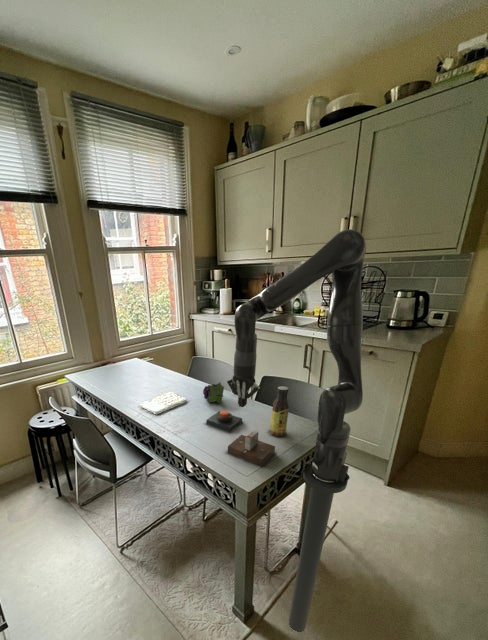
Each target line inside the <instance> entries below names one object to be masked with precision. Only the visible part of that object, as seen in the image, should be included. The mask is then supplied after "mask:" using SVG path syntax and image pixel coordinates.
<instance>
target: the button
mask: <svg viewBox="0 0 488 640" xmlns="http://www.w3.org/2000/svg"><path fill="white" fill-rule="evenodd" d="M229 413H230V412H229V411H228V410H221V411H220V416H221V417H223V418H227V417H228V416H229Z"/></svg>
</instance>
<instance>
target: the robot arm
mask: <svg viewBox="0 0 488 640" xmlns="http://www.w3.org/2000/svg"><path fill="white" fill-rule="evenodd" d="M366 252H367V242H366V239H365V236H364V235H363V234H362V233H361V232H360V231H358V230H357V229H353V228H351V229H343V230H342V231H339V232H338V233H336V234H335V235H334V236H333V237H332V238H331V239H330V240H329V241H327V243H326V244H324V245H323V246H322V247H321V248H320V249H318V251H316V252H315V253H314V254H313V255H312V256H310V257H309V258H308V259H307V260H305V261H304V262H303V263H302V264H300V265H299V266H297V267H295V268H294V269H293V270H292V271H290V272H288V273H287V274H285V275H284V276H282V277H281V278H279V279H278V280H276V281H274V282H273V283H272V284H270V285H269V286H267V287H266V288H265V289H262V291H261V292H260V293H259V294H257V295H255V296H254V297H252V298H250V299H249V300H247V301H245V302H244V303H242V304H240V305H239V306H238V307H237V308H236V309H235V313H234V331H235V349H234V356H233V375H232V378H230V379H228V380H227V381H226V383H227V385H228V386H229V388H230V390H231V392H232V393H233V396H237V405H238V407H240V408H244V407H246V406H247V404H248V399H250V398H252V396H254V395H255V394H256V393H257V392H258V391H259V390H261V389H262V387H261V385H258V384H257V383H256V379H255V376H256V370H257V369H256V367H257V345H258V335H257V333H256V323H257V321H259V320H260V319H261V318H263V317H264V316H265V315H267V314H269V313H270V312H272V311H275V310H277V309H279V308H280V307H282V306H283V305H285V304H287V303H288V302H291V300H293V299H294V298H296V297H297V296H298V295H300V294H301V293H303V291H305V290H306V289H307V288H309V287H310V286H311V285H313V284H314V283H316V282H318V281H319V280H321V279H322V278H325V277H326V276H328V275H330V274H331V284H332V286H331V296H330V300H329V305H328V311H327V320H326V341H327V342H326V343H327V346H328V348H329V350H330V353H331V355H332V356H333V358H334V359H335V362H336V364H337V369H338V370H337V371H338V379H337V384H336V385H331V386H329V387H326V388H324V389H323V390H322V391H321V393H320V396H319V398H318V399H319V400H318V408H317V417H316V418H317V424H318V429H317V433H316V434H317V435H316V440H315V446H314V452H313V458H312V463H313V464H312V469H311V474H312V476H313V477H314V478H315V479H316V480H318V481H320V482H323V483H328V484H336V485H337V484H338V482H339V481H341V482H343V481H347V480H348V481H349V480H350V475H349V473H348V472H349V469H350V466H349V465H345V463H346V459H347V455H348V452H347V448H348V443H349V440H350V435H351V425H350V424H349V423H348V422H346V421H345V415H347V414H350V413H353V412H355V411H357V410H358V409H360V407H361V406H362V404H363V399H364V398H363V397H364V392H363V391H364V390H363V379H362V345H363V344H362V341H363V331H364V330H363V329H364V325H363V324H364V321H363V320H364V311H363V309H364V308H363V296H362V287H361V286H362V275H363V268H364V261H365V256H366ZM250 389H251V391H250ZM345 477H346V478H345Z"/></svg>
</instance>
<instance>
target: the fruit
mask: <svg viewBox="0 0 488 640" xmlns="http://www.w3.org/2000/svg"><path fill="white" fill-rule="evenodd" d="M224 390H225V385H224V386H223V385H222V383H221V382H218V383H216V384H208V385H205V386H204V388H203V390H202V394H203V398H204V399H205V400H206V401H207V403H212V402H213V403H215V402H217V403H218V404H220V403H221V402H222V400H223V397H224Z"/></svg>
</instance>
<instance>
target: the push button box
mask: <svg viewBox="0 0 488 640" xmlns="http://www.w3.org/2000/svg"><path fill="white" fill-rule="evenodd" d="M220 412H221V411H220V410H219V411H217V412H215V413H214V414H213V415H211V416H209V417H208V418H207V419H206V421H205V422H206V425H208V426H211V427H214V428H216V429H219V430H222V431H224V432H228V433H231V432H232V431H234V430H235V429H237V428H238V427H239V426H240V425H241V424H243V418H242V417H239V416H236V415H233V414H232V412H231V413H230V412H229V416H228V417H227V418H223V417H221V416H220Z"/></svg>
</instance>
